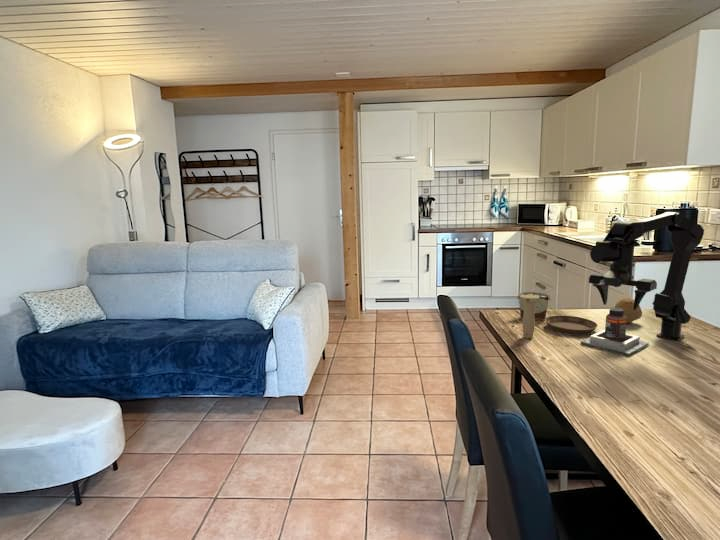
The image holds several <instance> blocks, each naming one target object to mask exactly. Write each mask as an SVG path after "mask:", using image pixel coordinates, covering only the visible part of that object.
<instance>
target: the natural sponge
mask: <svg viewBox="0 0 720 540" xmlns="http://www.w3.org/2000/svg"><path fill="white" fill-rule="evenodd" d="M634 300H635V298H632V297H630V296H629V297H628V296H625V297H623V298H622V297H621V298H620V299H619V300H618V301H617V302H616V303H615V305H614V308H620V309H623V310H624V311H623V313H624V314H623V315H624V316H625V317H626V324H630V323H633V322H634V321H637V320H640V319H641V318H642V316H643V310H642V308H641V306H640V304H639V305H638V307H637V309H636V310H634Z"/></svg>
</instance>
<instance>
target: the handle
mask: <svg viewBox="0 0 720 540" xmlns="http://www.w3.org/2000/svg"><path fill="white" fill-rule="evenodd" d="M539 298H540V297H539V296H535V295H520V300H521V301H523V302H524V314H523V318H522V334H523V335H522V336H523V338H525V339H532V338H534V337H533V336H534V331H535V323H536V322H535V320H536V319H535V316H534V305H535V303H536V302H538V301H539Z"/></svg>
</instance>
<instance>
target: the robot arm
mask: <svg viewBox="0 0 720 540" xmlns="http://www.w3.org/2000/svg"><path fill="white" fill-rule="evenodd" d="M663 228H665V229H666V231H668V233H670V241H671V245H672V247H673V252H672V254H671V255H672V256H671V259H670V264H669V268H668V271H667V276H666V280H665V285H664V288H663V290H662V291H660V292H659V293H658V292H656V293H655V294H654V298H653V302H652V305H653V308H652V309H653V311H654V314H655V318H659V319H661V325H660V332H659V333H657V334H656V337H658V338H663V339H668V340H672V341H676V342H677V341H680V340H682V339H683V338H685V335H683V334H682V325H683V324H687V323H690V321H691V316H692V315H690V314H689V312H688V311H687V310H686V309H685V304H686V300H685V298H684V295H683V288H684V284H685V281H686V276H687V273H688V269H689V266H690V261H691V257H692V252H693V251H694V250H695V249H696V248H697V247H698V246H699V245H700V244H701V242H702V239H703V237H704V233H705V229H704V228H703V226H702V225H701V224H699V223H697V222H696V221H694V220H692V219H690V218H688V217H686V216H685V215H683V214H682V213H680V212H676V211H675V212H674V211H665V212H664V213H661V214H658V215H655V216H650V217H647V218H644V219H643V218H642V219H639V220H626V221H625V220H624V221H622V220H621V221H616V222H614V223H613V224H612V227H611V228H610V230H609V231H608V233H607V234H606V236H605V237H604V239H603V240H602V241H595V245H594V246H593V247H591V250H590V251H589V252H590V253H589V256H590V259H591V260H592V262H593V263H595V264H601V263H610V265H609V270H607V271H606V273H600V272H596V273H593V274H590V275H589V277H588V284H592V286H593V287H595V288H596V289H597V290H598V292H599V295H600V297H601V300H602V303H603V306H604V305H605V306H606V305H607V303H608V296H609V286H610V287H615V288H619V287H621V286H622V285H623V286H624V285H625V286H631V287H635V290H634V295H635V296H634V310H636V309H637V307H638V305H639V306H640V303H641V302H642V300H643V299H644V297H645V295H647V293H650V292H651V291H655V290H656V289H657V288H658V287H657V285H658V283H657V281H656V279H651V278H650V279H649V278H641V279H638V280H634V275H633V269H634V267H635V263H634V255H635V254H634V253H635V247H640V246H641V243H640V242H638V241H636V240H637V239H640V238H642V237H643V235H644V234H646V233H649V232H653V231H656V230H660V229H663ZM611 262H612V263H611Z"/></svg>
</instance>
